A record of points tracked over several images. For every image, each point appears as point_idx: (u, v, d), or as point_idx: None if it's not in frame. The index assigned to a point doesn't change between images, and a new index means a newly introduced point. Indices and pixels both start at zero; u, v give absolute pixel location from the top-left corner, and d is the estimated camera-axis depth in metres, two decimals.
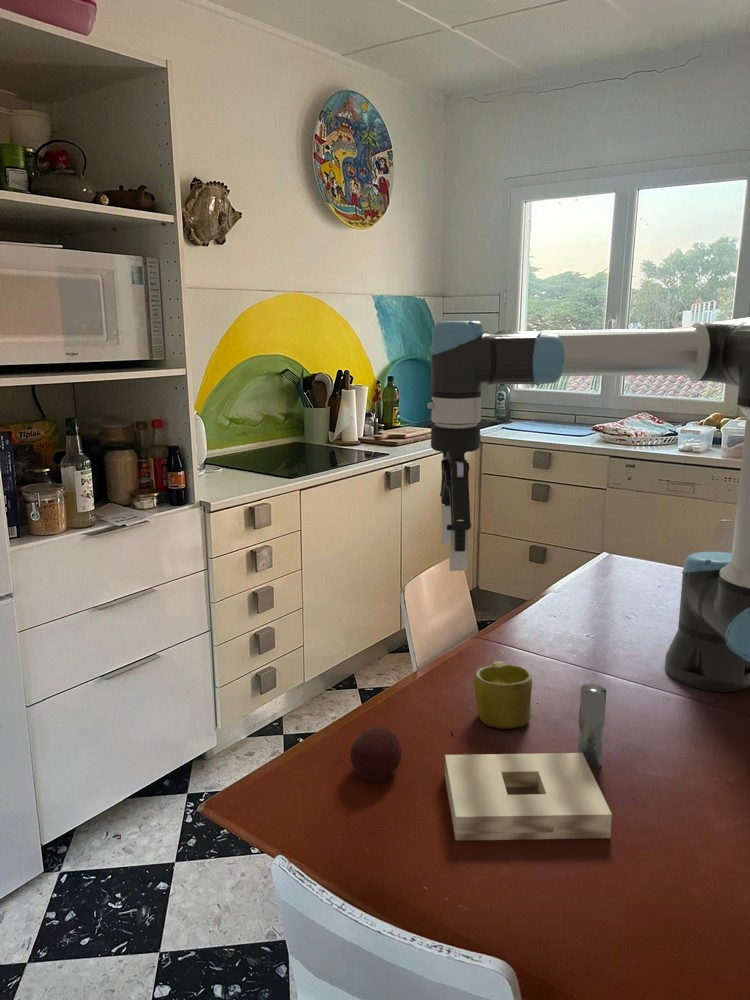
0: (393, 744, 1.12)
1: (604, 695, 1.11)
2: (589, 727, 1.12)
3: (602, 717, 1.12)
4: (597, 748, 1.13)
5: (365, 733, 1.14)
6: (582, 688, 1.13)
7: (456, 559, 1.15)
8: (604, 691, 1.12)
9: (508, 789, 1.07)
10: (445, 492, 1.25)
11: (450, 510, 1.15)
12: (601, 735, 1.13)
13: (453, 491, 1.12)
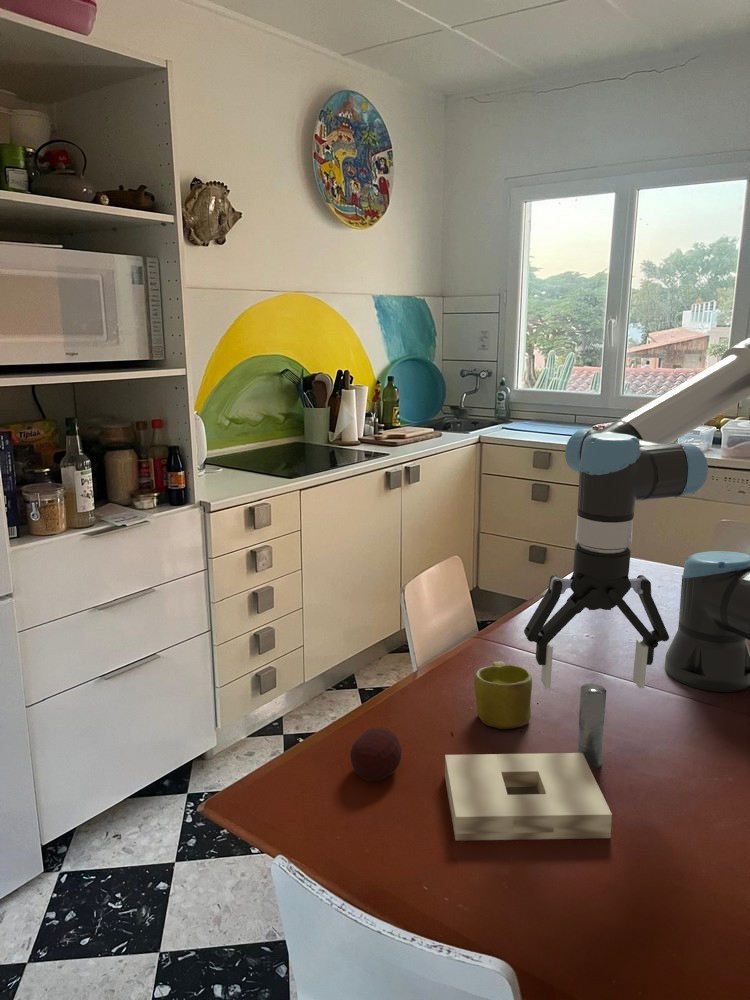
0: (393, 744, 1.12)
1: (604, 695, 1.11)
2: (588, 727, 1.12)
3: (602, 717, 1.12)
4: (597, 748, 1.13)
5: (365, 733, 1.14)
6: (582, 688, 1.13)
7: (543, 671, 1.12)
8: (604, 691, 1.12)
9: (508, 789, 1.07)
10: None
11: None
12: (601, 735, 1.13)
13: (541, 601, 1.10)
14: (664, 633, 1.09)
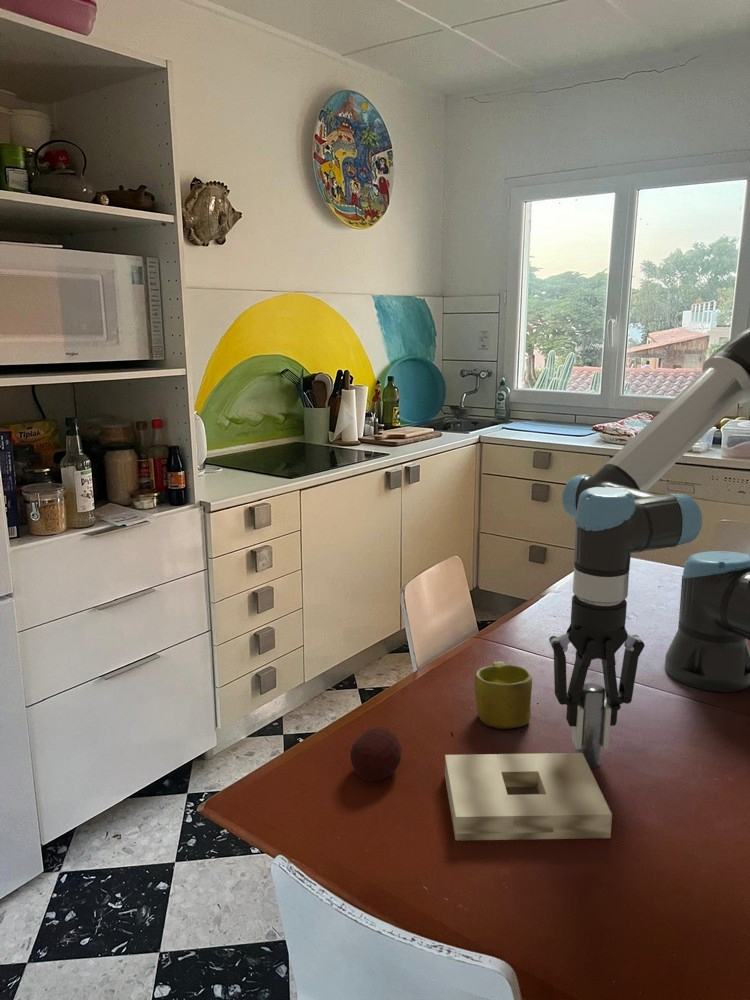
0: (393, 744, 1.12)
1: (603, 694, 1.11)
2: (588, 727, 1.12)
3: (601, 716, 1.12)
4: (596, 747, 1.13)
5: (365, 733, 1.14)
6: None
7: (573, 731, 1.15)
8: (603, 690, 1.12)
9: (508, 789, 1.07)
10: (604, 678, 1.13)
11: None
12: (600, 734, 1.13)
13: (554, 663, 1.13)
14: (629, 696, 1.11)
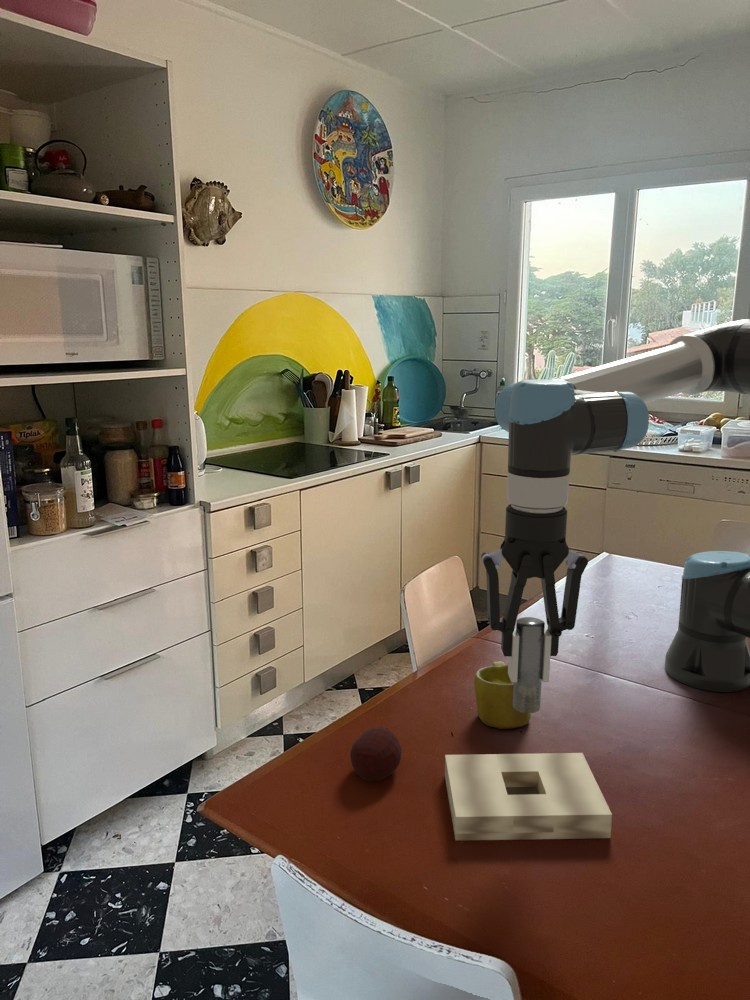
0: (393, 744, 1.12)
1: (542, 628, 0.98)
2: (525, 665, 0.99)
3: (540, 653, 0.99)
4: (535, 688, 1.00)
5: (365, 733, 1.14)
6: (518, 621, 1.00)
7: (509, 663, 1.01)
8: (542, 624, 0.99)
9: (508, 789, 1.07)
10: (544, 602, 1.00)
11: None
12: (539, 674, 1.00)
13: (487, 584, 0.99)
14: (571, 621, 0.98)
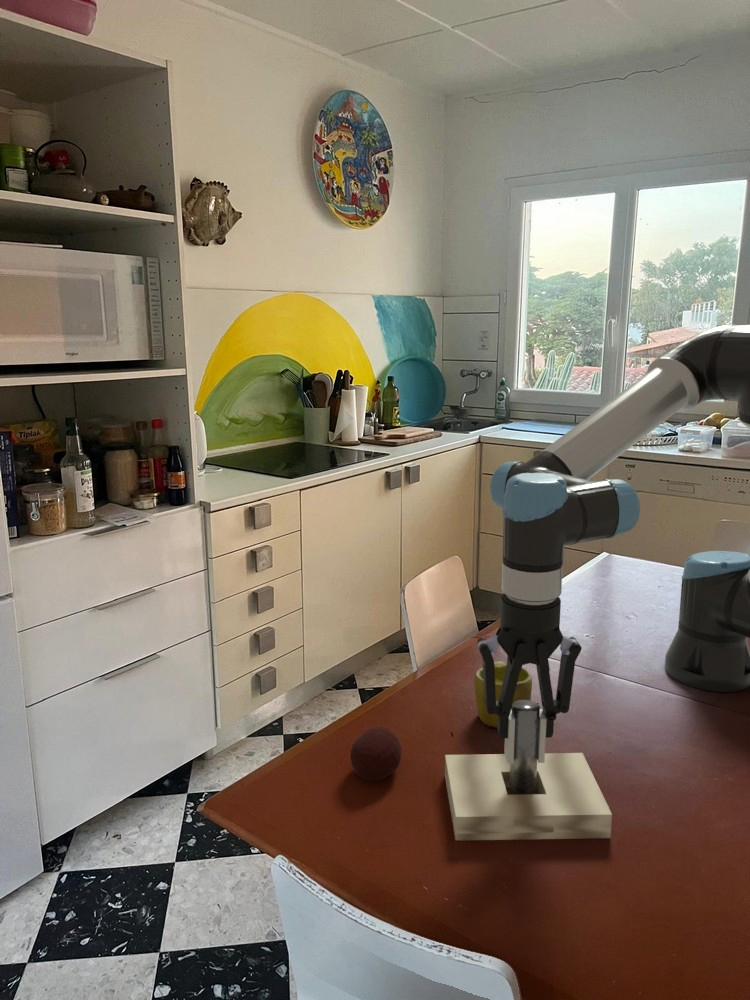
0: (393, 744, 1.12)
1: (537, 712, 1.01)
2: (521, 748, 1.02)
3: (535, 737, 1.02)
4: (531, 770, 1.03)
5: (365, 733, 1.14)
6: (513, 705, 1.02)
7: (505, 744, 1.04)
8: (537, 708, 1.02)
9: (508, 789, 1.07)
10: (539, 685, 1.02)
11: None
12: (534, 756, 1.02)
13: (483, 668, 1.02)
14: (566, 704, 1.01)
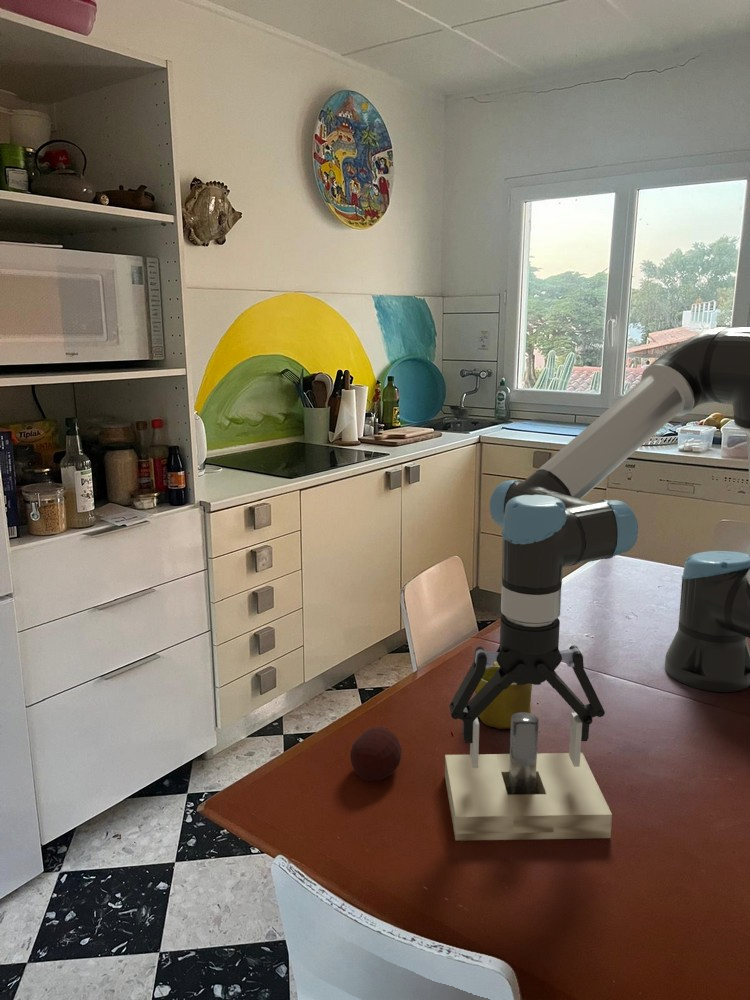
0: (393, 744, 1.12)
1: (536, 725, 1.01)
2: (519, 761, 1.02)
3: (534, 749, 1.02)
4: (530, 783, 1.03)
5: (365, 733, 1.14)
6: (512, 717, 1.03)
7: (471, 749, 1.04)
8: (536, 721, 1.02)
9: (508, 789, 1.07)
10: None
11: None
12: (533, 769, 1.03)
13: (467, 674, 1.02)
14: (599, 708, 1.01)
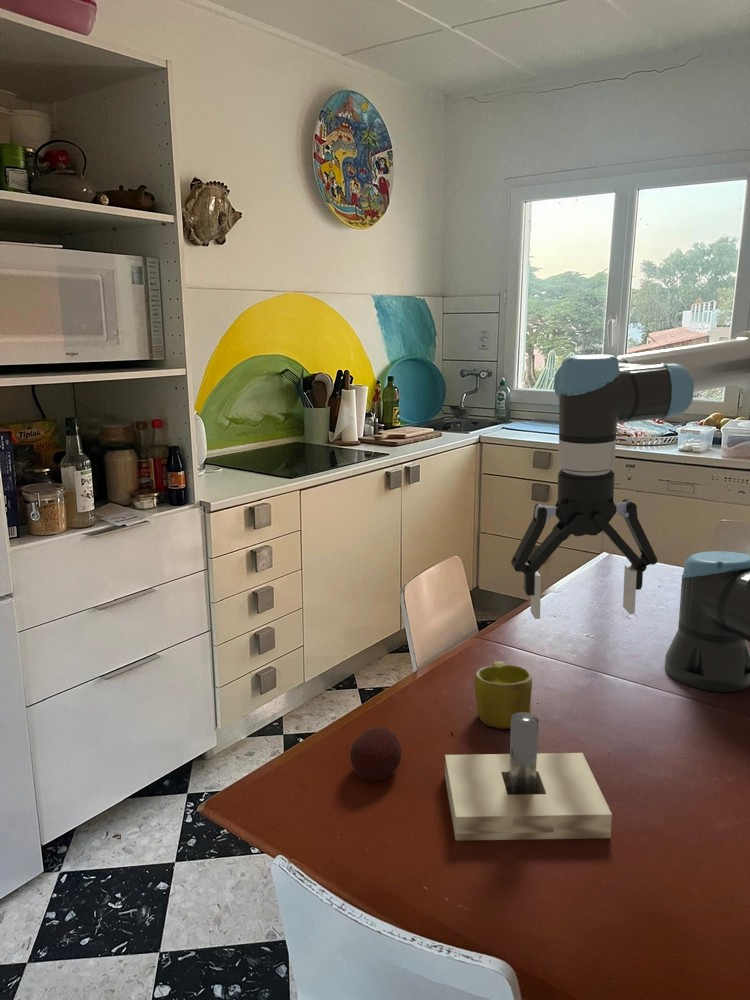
0: (393, 744, 1.12)
1: (536, 725, 1.01)
2: (519, 761, 1.02)
3: (534, 749, 1.02)
4: (530, 782, 1.03)
5: (365, 733, 1.14)
6: (512, 717, 1.03)
7: (532, 602, 1.11)
8: (536, 721, 1.02)
9: (508, 789, 1.07)
10: (618, 548, 1.10)
11: None
12: (533, 769, 1.03)
13: (527, 530, 1.09)
14: (652, 556, 1.08)
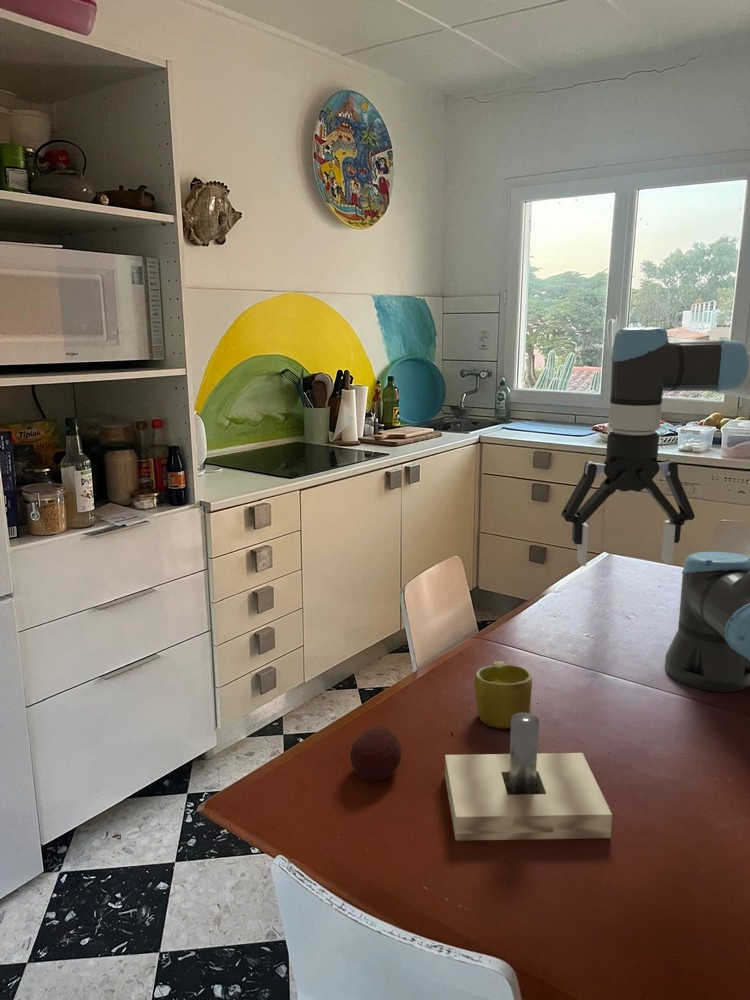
0: (393, 744, 1.12)
1: (536, 726, 1.01)
2: (520, 761, 1.02)
3: (534, 749, 1.02)
4: (530, 783, 1.03)
5: (365, 733, 1.14)
6: (512, 718, 1.03)
7: (579, 551, 1.22)
8: (536, 721, 1.02)
9: (508, 789, 1.07)
10: (659, 505, 1.21)
11: None
12: (533, 769, 1.03)
13: (577, 485, 1.20)
14: (690, 512, 1.19)
